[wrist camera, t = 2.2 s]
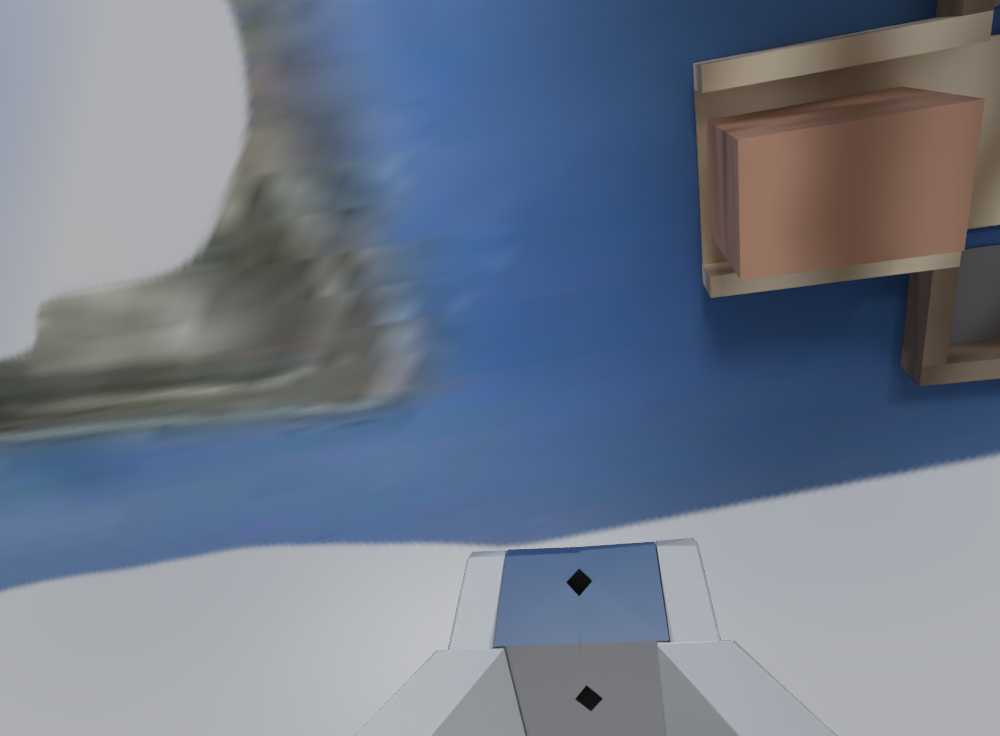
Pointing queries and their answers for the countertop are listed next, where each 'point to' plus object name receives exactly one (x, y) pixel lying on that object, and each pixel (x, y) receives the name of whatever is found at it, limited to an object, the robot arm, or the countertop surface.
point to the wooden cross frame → (867, 68)
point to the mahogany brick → (843, 180)
